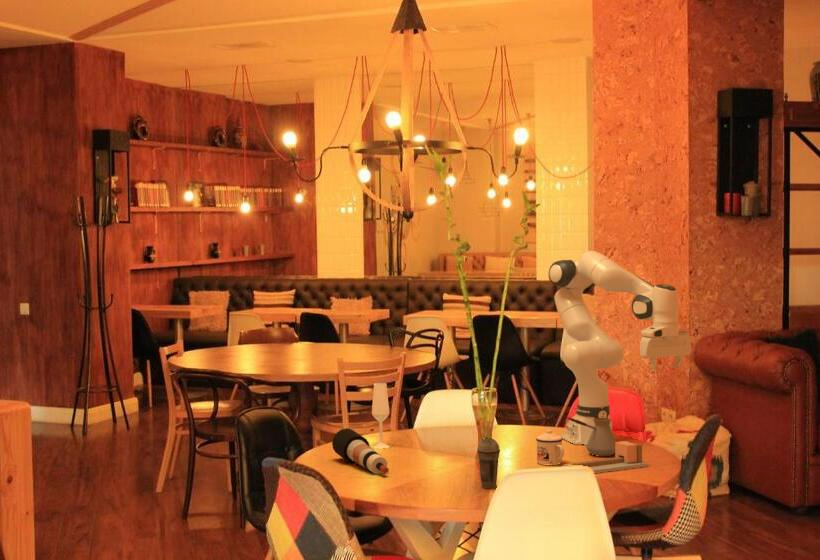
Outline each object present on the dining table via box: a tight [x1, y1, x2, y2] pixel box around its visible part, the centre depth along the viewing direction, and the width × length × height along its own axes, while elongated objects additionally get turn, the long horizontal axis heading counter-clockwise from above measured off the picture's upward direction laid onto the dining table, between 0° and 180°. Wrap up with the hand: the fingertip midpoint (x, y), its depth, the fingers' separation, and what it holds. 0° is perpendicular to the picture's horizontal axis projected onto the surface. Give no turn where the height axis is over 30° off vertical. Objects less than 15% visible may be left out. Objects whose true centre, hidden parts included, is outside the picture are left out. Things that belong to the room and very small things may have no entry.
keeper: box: [614, 440, 638, 463], centre depth 360 cm, size 7×4×6 cm, turn 25°
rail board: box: [562, 440, 648, 474], centre depth 356 cm, size 12×26×7 cm, turn 115°
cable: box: [331, 427, 390, 475], centre depth 362 cm, size 10×34×10 cm, turn 24°
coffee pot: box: [564, 416, 617, 457], centre depth 374 cm, size 21×12×15 cm, turn 117°
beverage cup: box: [476, 424, 501, 490], centre depth 331 cm, size 7×7×20 cm
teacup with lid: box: [535, 429, 565, 466], centre depth 363 cm, size 12×9×12 cm
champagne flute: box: [371, 382, 391, 450], centre depth 395 cm, size 7×7×24 cm
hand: (665, 369), depth 371 cm, fingers open, 8 cm apart
